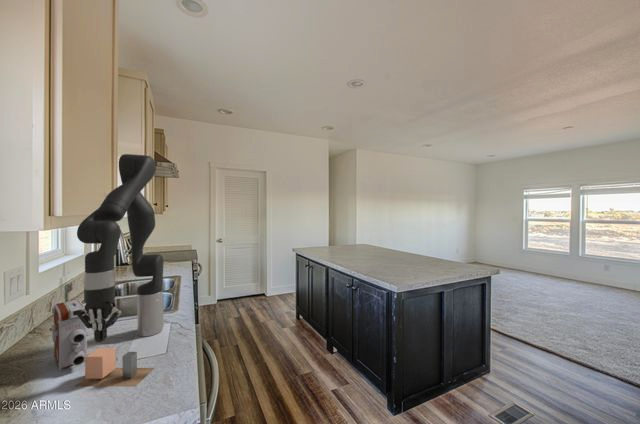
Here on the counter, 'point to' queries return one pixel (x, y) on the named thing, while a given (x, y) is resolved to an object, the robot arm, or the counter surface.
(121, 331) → the counter surface
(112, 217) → the robot arm
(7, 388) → the counter surface
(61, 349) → the cine camera
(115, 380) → the board
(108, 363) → the peach foam brick
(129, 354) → the steel post
